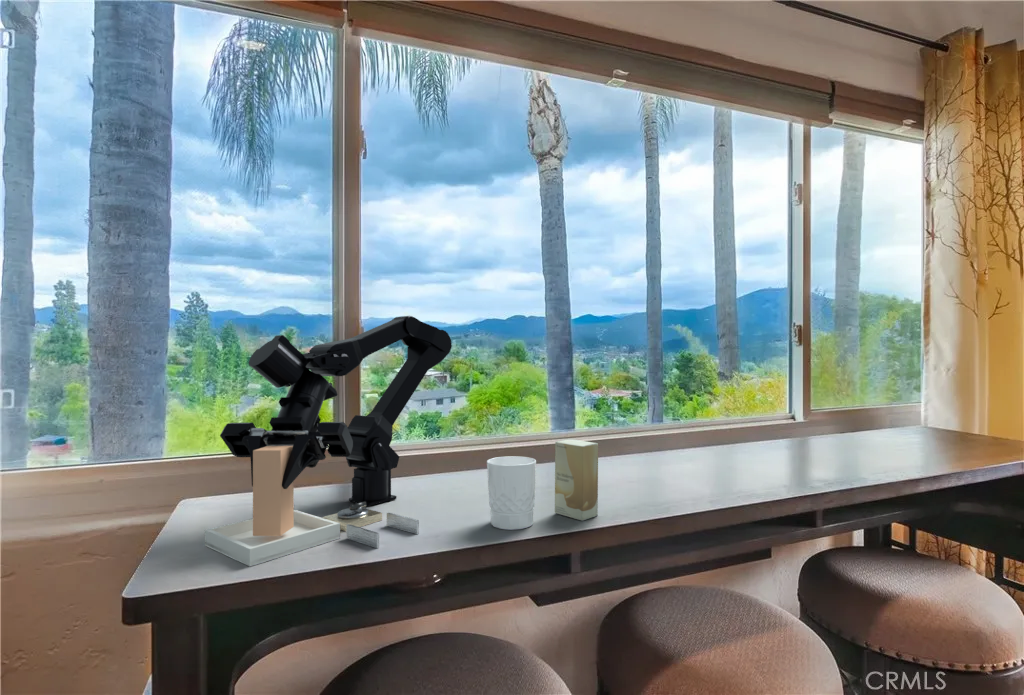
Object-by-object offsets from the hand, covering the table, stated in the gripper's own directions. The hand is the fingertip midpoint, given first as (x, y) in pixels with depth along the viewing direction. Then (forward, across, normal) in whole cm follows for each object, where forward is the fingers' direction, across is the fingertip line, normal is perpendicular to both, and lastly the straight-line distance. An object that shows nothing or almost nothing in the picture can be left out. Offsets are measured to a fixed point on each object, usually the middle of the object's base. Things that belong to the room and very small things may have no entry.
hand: (269, 487), depth 75 cm
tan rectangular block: (+4, 0, -6) cm, 7 cm away
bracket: (+1, -12, -11) cm, 16 cm away
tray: (+5, 0, -7) cm, 8 cm away
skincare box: (-5, -45, -17) cm, 48 cm away
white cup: (-1, -34, -13) cm, 37 cm away
